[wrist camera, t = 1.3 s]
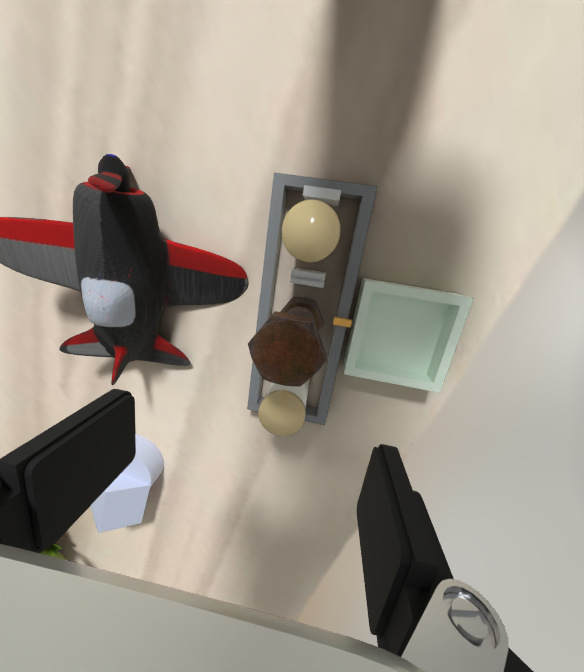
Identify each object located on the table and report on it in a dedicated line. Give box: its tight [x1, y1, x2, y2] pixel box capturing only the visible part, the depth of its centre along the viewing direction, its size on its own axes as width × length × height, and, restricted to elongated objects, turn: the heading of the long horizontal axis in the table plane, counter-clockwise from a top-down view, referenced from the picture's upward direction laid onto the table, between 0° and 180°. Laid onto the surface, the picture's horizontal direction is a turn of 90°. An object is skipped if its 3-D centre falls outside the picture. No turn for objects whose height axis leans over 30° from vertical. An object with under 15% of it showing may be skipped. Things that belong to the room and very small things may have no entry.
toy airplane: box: [0, 154, 248, 385], centre depth 31 cm, size 28×24×15 cm
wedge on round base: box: [91, 435, 164, 533], centre depth 42 cm, size 9×7×13 cm
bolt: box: [248, 297, 327, 387], centre depth 26 cm, size 6×5×15 cm
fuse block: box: [247, 173, 377, 425], centre depth 32 cm, size 11×28×4 cm, turn 171°
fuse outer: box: [258, 378, 311, 436], centre depth 31 cm, size 5×5×10 cm
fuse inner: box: [282, 200, 340, 262], centre depth 26 cm, size 5×5×10 cm
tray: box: [343, 278, 473, 393], centre depth 31 cm, size 11×11×3 cm
